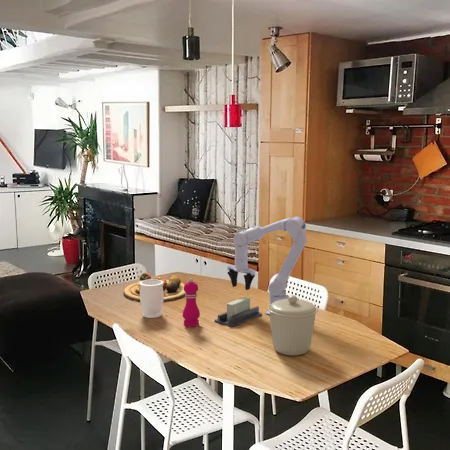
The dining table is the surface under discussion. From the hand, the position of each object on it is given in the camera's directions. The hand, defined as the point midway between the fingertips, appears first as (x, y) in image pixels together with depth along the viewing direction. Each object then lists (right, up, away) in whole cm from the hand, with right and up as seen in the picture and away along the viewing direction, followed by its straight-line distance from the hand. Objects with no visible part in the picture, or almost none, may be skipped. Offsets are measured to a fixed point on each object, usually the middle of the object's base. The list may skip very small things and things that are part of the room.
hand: (241, 287), depth 252 cm
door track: (-1, -12, -10) cm, 16 cm away
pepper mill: (-21, -13, -18) cm, 31 cm away
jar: (-39, -11, -6) cm, 41 cm away
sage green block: (-1, -11, -10) cm, 15 cm away
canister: (+17, -18, -44) cm, 51 cm away
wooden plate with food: (-41, -6, +27) cm, 50 cm away
